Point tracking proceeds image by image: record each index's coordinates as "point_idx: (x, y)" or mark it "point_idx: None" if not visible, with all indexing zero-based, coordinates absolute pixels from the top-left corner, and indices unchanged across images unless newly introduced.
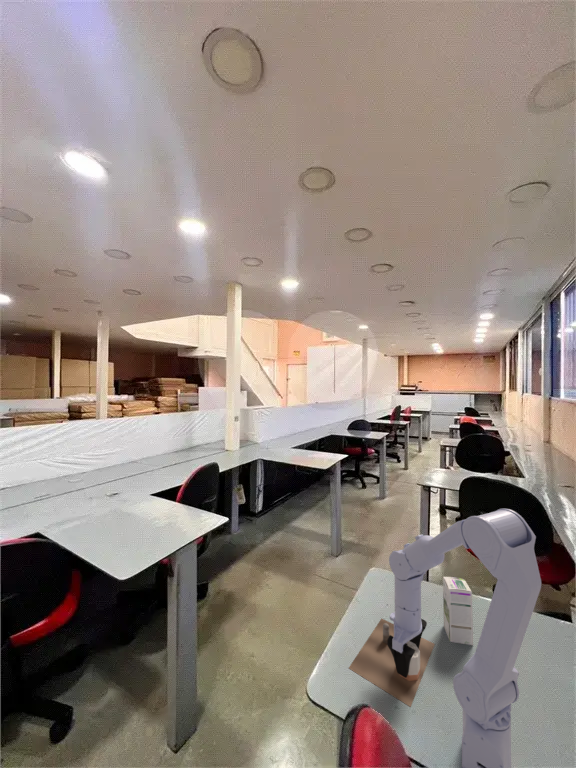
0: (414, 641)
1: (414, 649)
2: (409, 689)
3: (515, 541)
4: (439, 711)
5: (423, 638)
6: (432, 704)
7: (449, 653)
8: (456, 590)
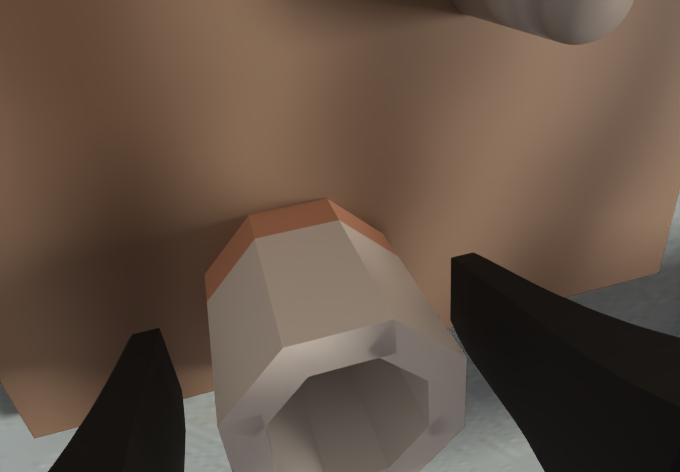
0: (508, 376)
1: (403, 433)
2: None
3: None
4: (209, 469)
5: (676, 201)
6: (217, 436)
7: (633, 322)
8: None
